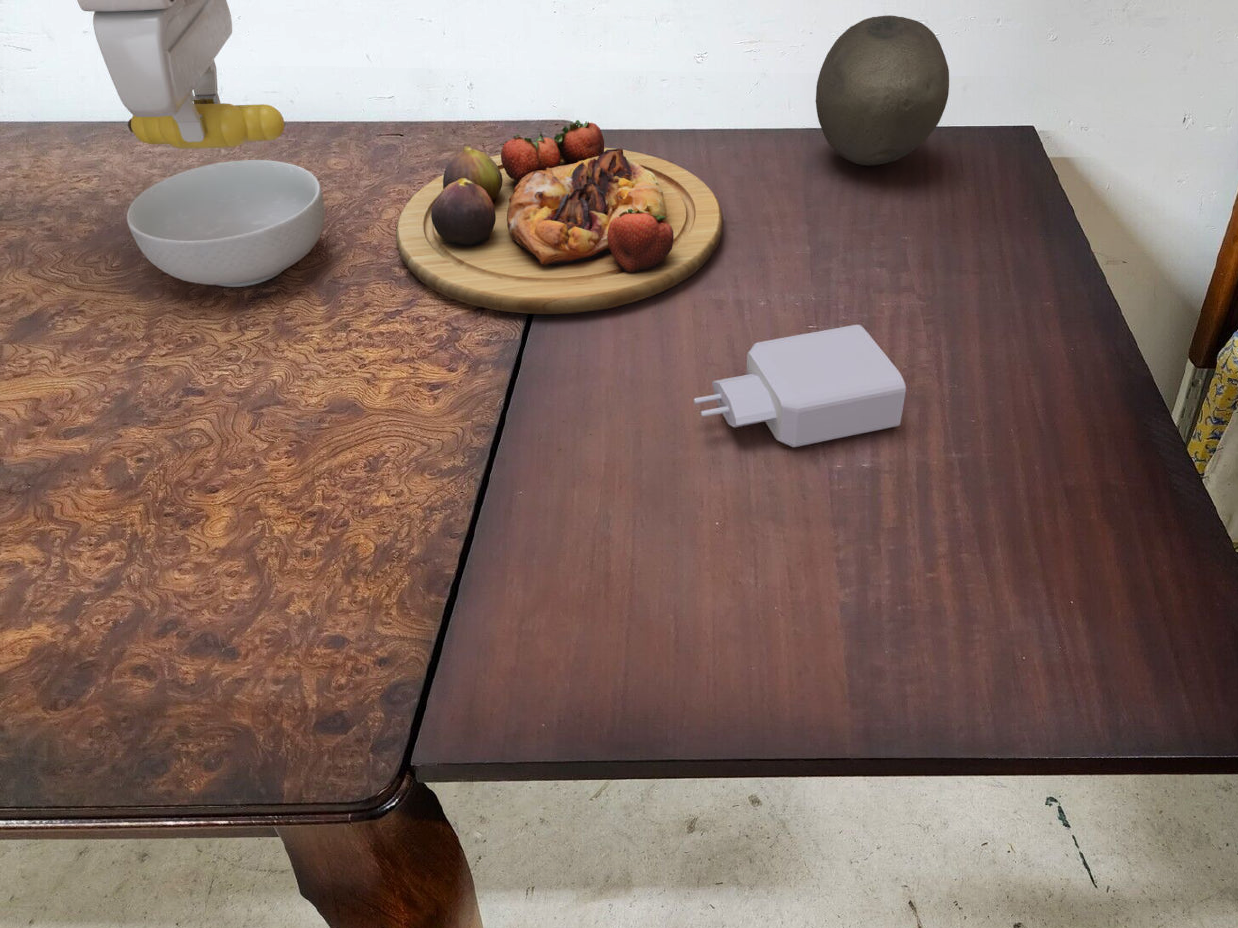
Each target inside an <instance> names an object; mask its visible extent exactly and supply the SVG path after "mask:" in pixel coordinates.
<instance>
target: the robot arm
mask: <svg viewBox="0 0 1238 928" xmlns="http://www.w3.org/2000/svg"><path fill="white" fill-rule="evenodd" d="M76 1H77V3H78V5H79V8H80V9H81V10H82V11H83V12H94V13H93V17H92V23H93V24H92V25H93V31H94V35H95V38H96V42H97V45H98V47H99V50H100V52H101V55H102V58H103V61H104V64H105V66H106V69H107V71H108V74H109V76H110V80H111V81H112V83H113V86H114V88H115V89H116V93H117V95H118V97H119V99H120V101H121V103H122V105H123V106H124V108H125V109H126V110H127V111H128V112H129V113H130V114H131V115H132V116H133V115H134V116H136V117H162V116H172V117H173V118H174V120H175V121H176V122H177V124H178V127H179V130H180V133H181V136H182V138H183V139H184V141H186V142H201V141H202V140H203V139H204V137H205V136H206V134H207V131H208V130H207V127H206V125H205V120H204V117H203V114H198V111H197V109H196V107H195V105H194V104H221V103H222V102H221V99H220V97H219V93H218V91H219V89H218V88H219V87H218V74H217V73H218V72H217V71H218V69H217V65H216V62H215V59H216V57H217V56H218V54H219V53H220V51H221V50H222V49H223V47H224V46H225V44H226V42H227V41H228V40H229V39H230V37H231V36H232V34H233V21H232V15H231V11H230V8H229V5H228V2H227V0H76Z"/></svg>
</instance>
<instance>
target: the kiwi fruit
mask: <svg viewBox="0 0 1238 928" xmlns="http://www.w3.org/2000/svg"><path fill="white" fill-rule="evenodd" d="M815 88H816V89H815V109H816V115H817V120H818V122H819V126H820V128H821V130H822V133H823V136H824V139H825V140H826V141H827V143H828V144H829V146H830V147H831V149H832V150H833V151H834V152H835V153H836V154H838V155H839V156H840V157H842V158H843V159H845V160H847V161H849V162H851V163H853V164H857V165H860V166H880V165H885V164H888V163H893V162H896V161H898V160H900V159H902V158H904V157H905V156H907V155H909V154H910V153H911V152H913V151H914V150H916V149H917V148H919V147H920V146H921V145H922V144H923V143H924V142H926V140H927V139H928V138H929V137H930V136H931V135H932V133H933V132H934V130H935V129H936V128H937V127H938V125H939V123H940V121H941V120H942V119H941V118H942V117H943V114H944V112H945V110H946V106H947V103H948V99H949V93H950V69H949V65H948V62H947V58H946V55H945V53H944V49H943V47H942V45H941V43H940V40H939V38H937V36H936V34H935V33H934V32H933V30H931V29H930V28H929V27H928V26H926V25H925V24H924V23H922V22H920V21H918V20H915V19H912V18H910V17H909V18H907V17H904V16H897V15H892V14H891V15H877V16H872V17H868V18H865V19H863V20H861V21H858V22H857V23H854V25H851V26H849V27H848V28H847V29H846V30H845V31H843V33H842V34H840V36H839V37H838V38H837V39H836V40H835V41H834V43H833V45H832V46H831V47H830V49H829V51H828V52H827V54H826V56H825V57H824V61H823V62H822V65H821V67H820V71H819V74H818V77H817V82H816V87H815Z"/></svg>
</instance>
